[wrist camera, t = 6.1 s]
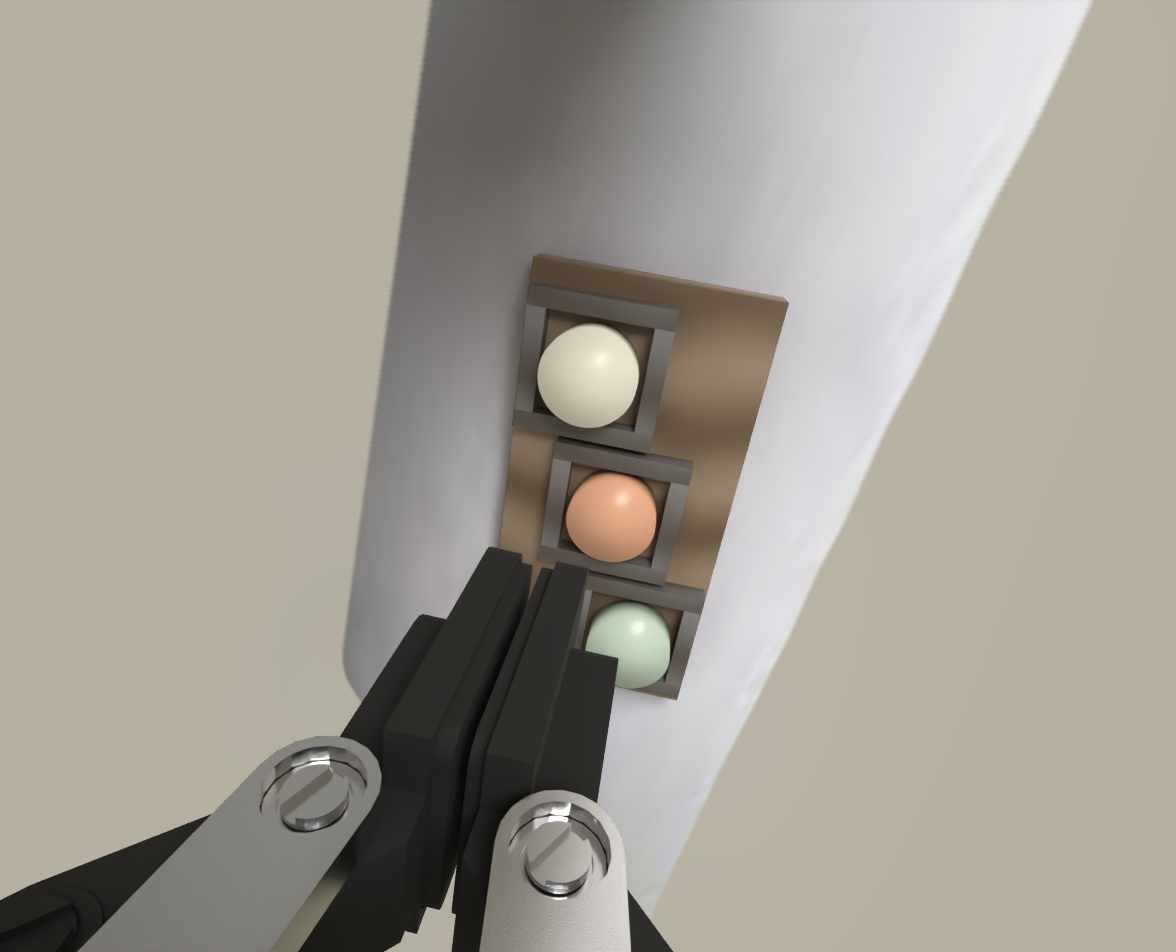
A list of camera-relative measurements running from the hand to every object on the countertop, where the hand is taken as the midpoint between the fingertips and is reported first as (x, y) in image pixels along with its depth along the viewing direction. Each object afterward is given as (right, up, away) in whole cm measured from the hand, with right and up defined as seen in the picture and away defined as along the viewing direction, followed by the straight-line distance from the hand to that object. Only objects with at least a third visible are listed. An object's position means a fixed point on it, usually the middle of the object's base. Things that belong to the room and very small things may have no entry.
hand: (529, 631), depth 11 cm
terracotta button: (+2, +1, +27) cm, 27 cm away
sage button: (+4, -7, +29) cm, 30 cm away
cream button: (+1, +8, +23) cm, 24 cm away
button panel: (+3, +2, +29) cm, 29 cm away
